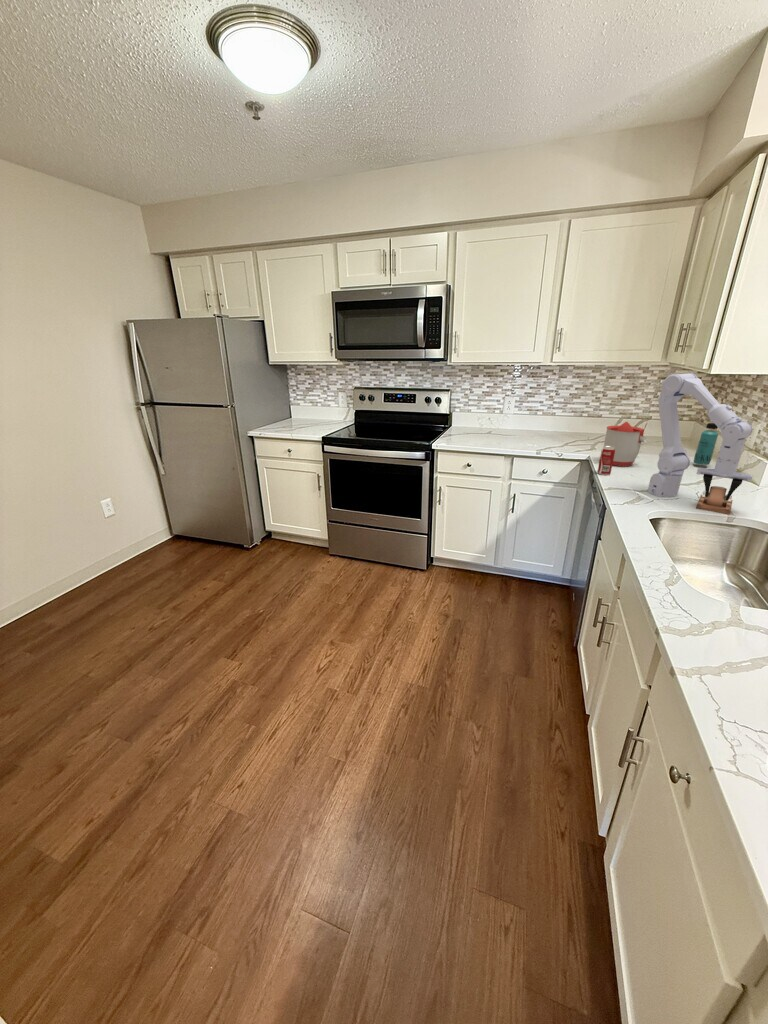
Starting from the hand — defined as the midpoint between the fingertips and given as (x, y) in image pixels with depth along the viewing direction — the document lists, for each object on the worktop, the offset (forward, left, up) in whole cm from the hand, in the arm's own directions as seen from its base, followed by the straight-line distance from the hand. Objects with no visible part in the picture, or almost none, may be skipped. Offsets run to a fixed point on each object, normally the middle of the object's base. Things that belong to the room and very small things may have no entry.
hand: (716, 497), depth 144 cm
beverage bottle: (+42, +50, -5) cm, 66 cm away
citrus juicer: (+8, +60, -5) cm, 61 cm away
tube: (0, 0, -3) cm, 4 cm away
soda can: (-10, +46, -5) cm, 47 cm away
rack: (+3, +3, -4) cm, 6 cm away
